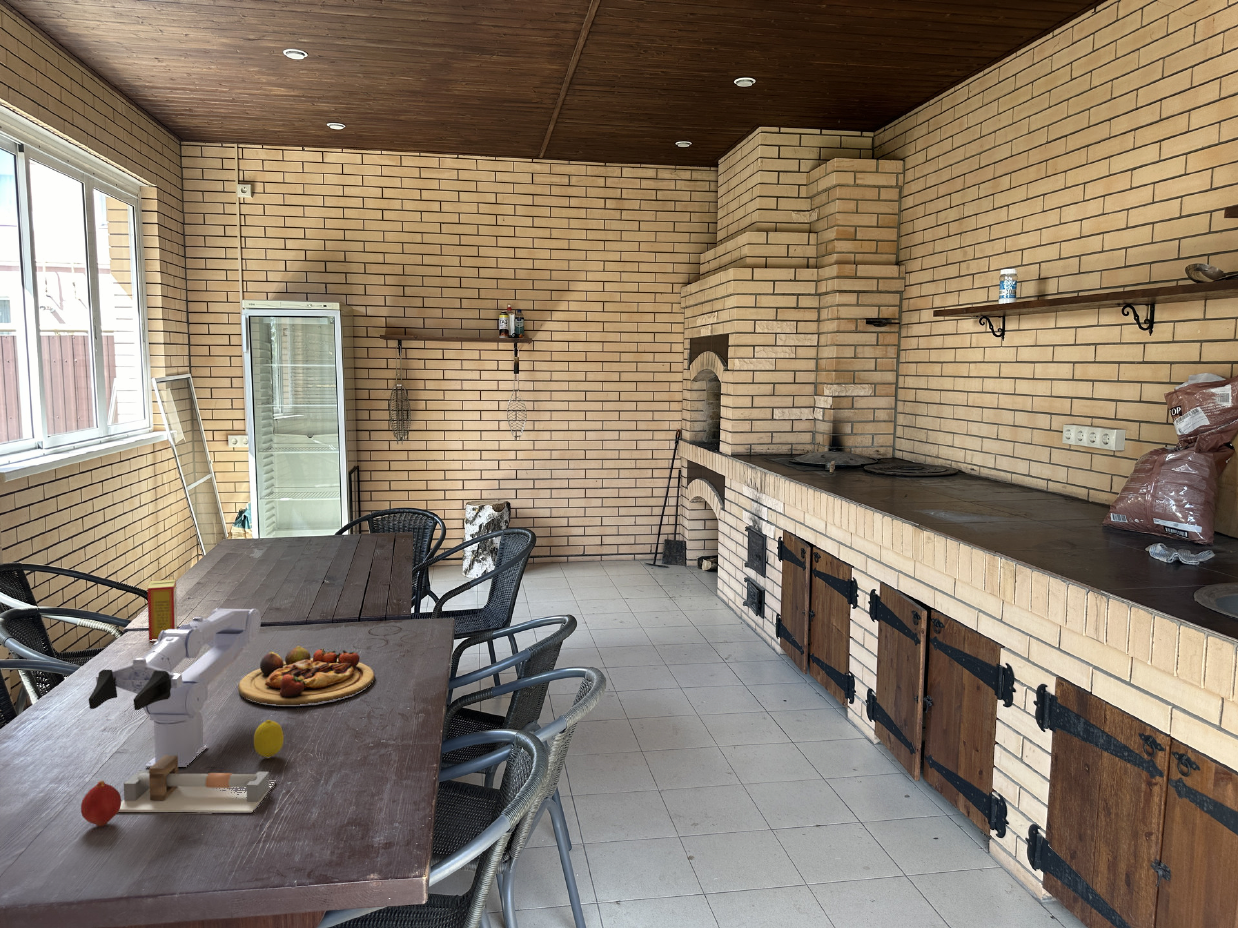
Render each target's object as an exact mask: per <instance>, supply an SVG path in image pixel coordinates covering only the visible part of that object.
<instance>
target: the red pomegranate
mask: <svg viewBox="0 0 1238 928" xmlns="http://www.w3.org/2000/svg"><path fill="white" fill-rule="evenodd" d="M121 802H122V796H121V793H120V792H119V791H118V790H117V789H116V787H114V786H113V785H111V784H107V783H105V780H99V781H98V782H97V784H96V785H94V786H93V787H91V789H90V790H88V792H87V793H86V794H85V795H84V797H83V799H82V800H81V805H80V814H81V816H82V818H84V819H85V821H87V822H88V823H90V824H93V825H96V826H97V827H104V826H106V825H107V824H108V823H109V822H110V821H111V820H112V819H113V818H114V817H115V816H116V815H118V814H119V813H118V811H119V810H120V806H121Z"/></svg>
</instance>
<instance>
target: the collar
mask: <svg viewBox="0 0 1238 928" xmlns="http://www.w3.org/2000/svg"><path fill="white" fill-rule="evenodd" d="M148 768H149V767H148ZM148 771H149V779H150V800H165V799H166V798H167V797H168V796H169V795H170V794H171V793H172V792H173V791H174V790H175V789H176V788H177V787H178V786H166V775H167V774H168V773H177V774H179V768H178V755H164V756H163V757H162V758H161V759H160V760H158V761H157V762H156V763H155V764H154V765H153V766H151V767H150V768H149V769H148Z"/></svg>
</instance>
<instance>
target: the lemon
mask: <svg viewBox="0 0 1238 928" xmlns="http://www.w3.org/2000/svg"><path fill="white" fill-rule="evenodd" d="M284 738H285V735H284V732H283V728H282V727H281V725H280V724H279V723H278V722H276V721H275V720H271V719H266V721H264V722H262V723H261V724H259V725H258V727H256V729H255V732H254V735H253V748H254V750H255V751H256V753H257V754H258V755H259V756H262V757H265V758H266V757H270V756H272V757H273V756H275V755H277V753H278V754H279V752H280V751H281V750H282V748H283V745H284Z"/></svg>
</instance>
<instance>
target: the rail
mask: <svg viewBox="0 0 1238 928" xmlns="http://www.w3.org/2000/svg"><path fill="white" fill-rule="evenodd" d="M269 781H270V772H269V771H257V772H256V773H253V774H251V773H250V774H249V773H245V774H244V773H243V774H242V773H233V772H209V773H178V774H177V773H168V774H167V775H166V786H178V787H177V788H176V789H175V790H174V791H173V792H172V793H171V794H170V795H169V796H168V797H167V798H166V799H165V800H150V779H149V770H145V769H143V770H138V771H137V772H135V773H134V774H133V775H132V776H131V777H130V778H128V779H127V780H126V781H125V782H124V783H123V800H121V806H120V810H119V811H118V812H180V811H181V812H183V811H185V812H253V810H254V809H255V808H256V806H257V805H258V804H259V802H260V801H261V800H262V799H263V797H264V796H265V795H266V793H267V792H268V791H267V790H269V787H270V788H271V787H272V786H269V785H271V784H269ZM271 783H274V782H271ZM272 785H273V784H272ZM233 787H234V788H236V787H237V788H239V787H244V788H246V787H247V791H246V792H245V791H237V792H242V793H237V792H235V791H233V790H235V789H233V790H232V789H230V790H229V789H227V788H233ZM213 788H214V789H213ZM216 788H217V789H216ZM219 788H220V789H219ZM224 788H225V789H224ZM220 790H221V791H220ZM222 790H226V791H222ZM231 790H232V791H231ZM238 790H240V789H238ZM241 790H242V789H241ZM243 790H245V789H243ZM231 792H232V793H231ZM234 792H235V793H234ZM244 792H245V793H244ZM237 794H239V795H237ZM236 797H237V798H236ZM246 797H247V798H246Z"/></svg>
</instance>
